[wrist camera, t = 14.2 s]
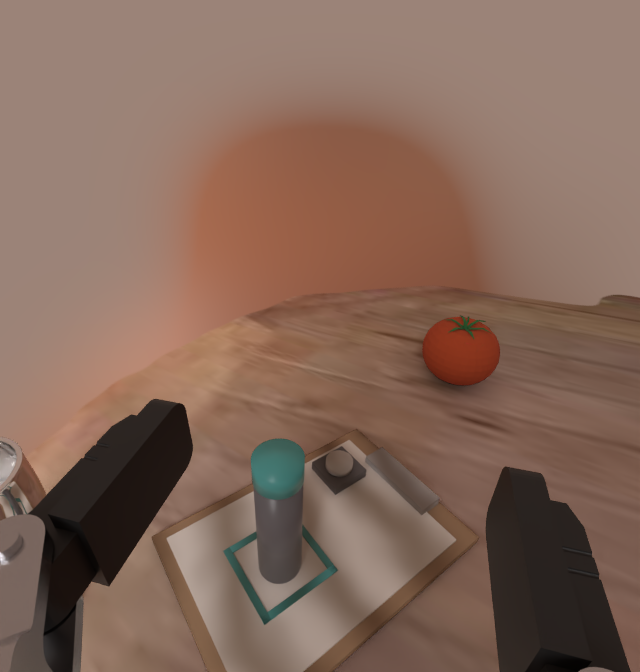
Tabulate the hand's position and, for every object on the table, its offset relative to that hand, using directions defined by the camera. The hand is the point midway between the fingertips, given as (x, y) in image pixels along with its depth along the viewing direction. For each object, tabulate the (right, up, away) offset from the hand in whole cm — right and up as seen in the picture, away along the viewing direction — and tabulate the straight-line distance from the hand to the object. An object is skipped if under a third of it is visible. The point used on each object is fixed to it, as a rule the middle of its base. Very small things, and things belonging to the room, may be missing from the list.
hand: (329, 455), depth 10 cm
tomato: (+19, -3, +50) cm, 53 cm away
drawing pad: (0, -16, +27) cm, 31 cm away
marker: (-4, -16, +25) cm, 30 cm away
